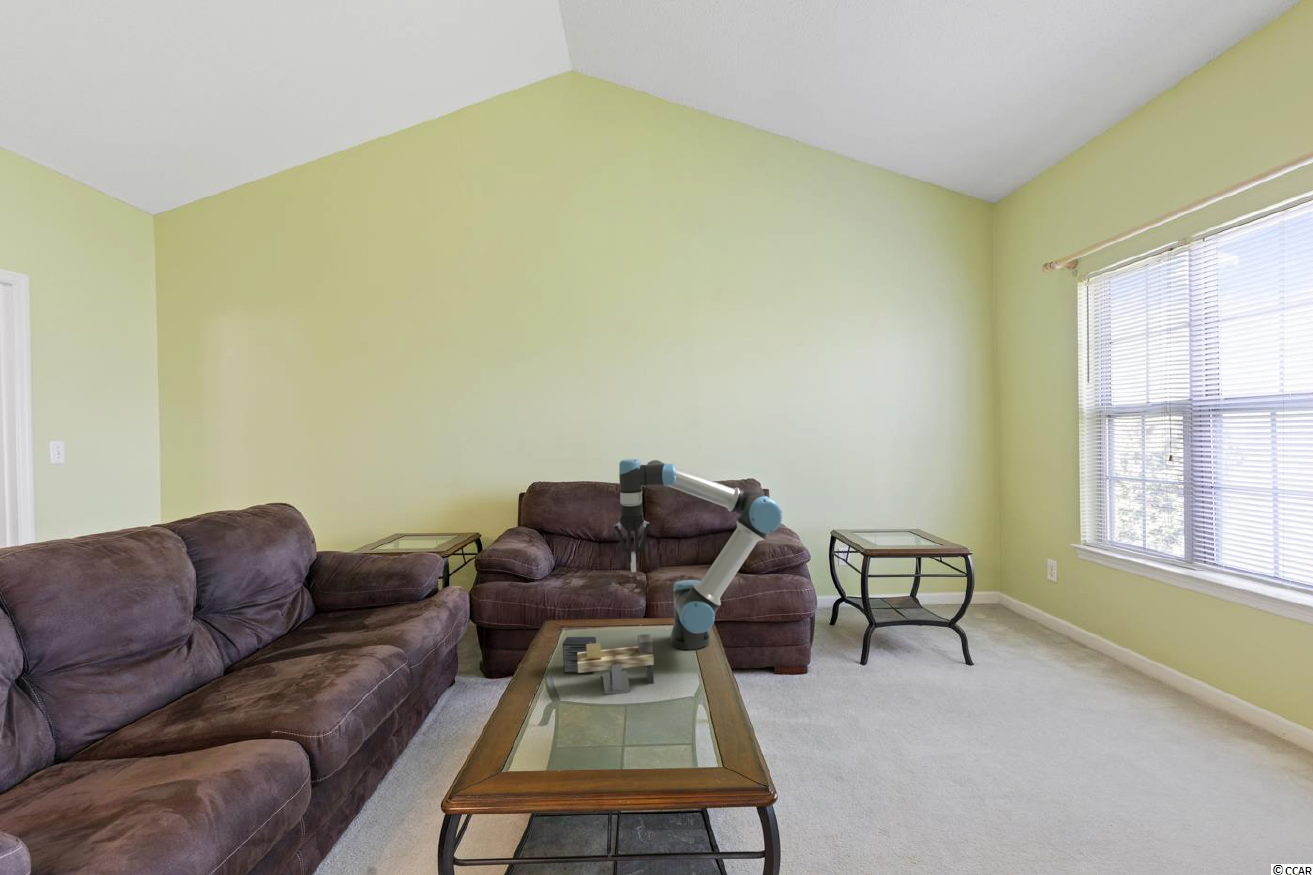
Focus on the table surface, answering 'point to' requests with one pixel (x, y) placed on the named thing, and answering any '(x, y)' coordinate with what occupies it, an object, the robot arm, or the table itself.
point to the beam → (620, 656)
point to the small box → (575, 653)
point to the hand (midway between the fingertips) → (633, 571)
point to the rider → (593, 651)
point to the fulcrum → (622, 679)
